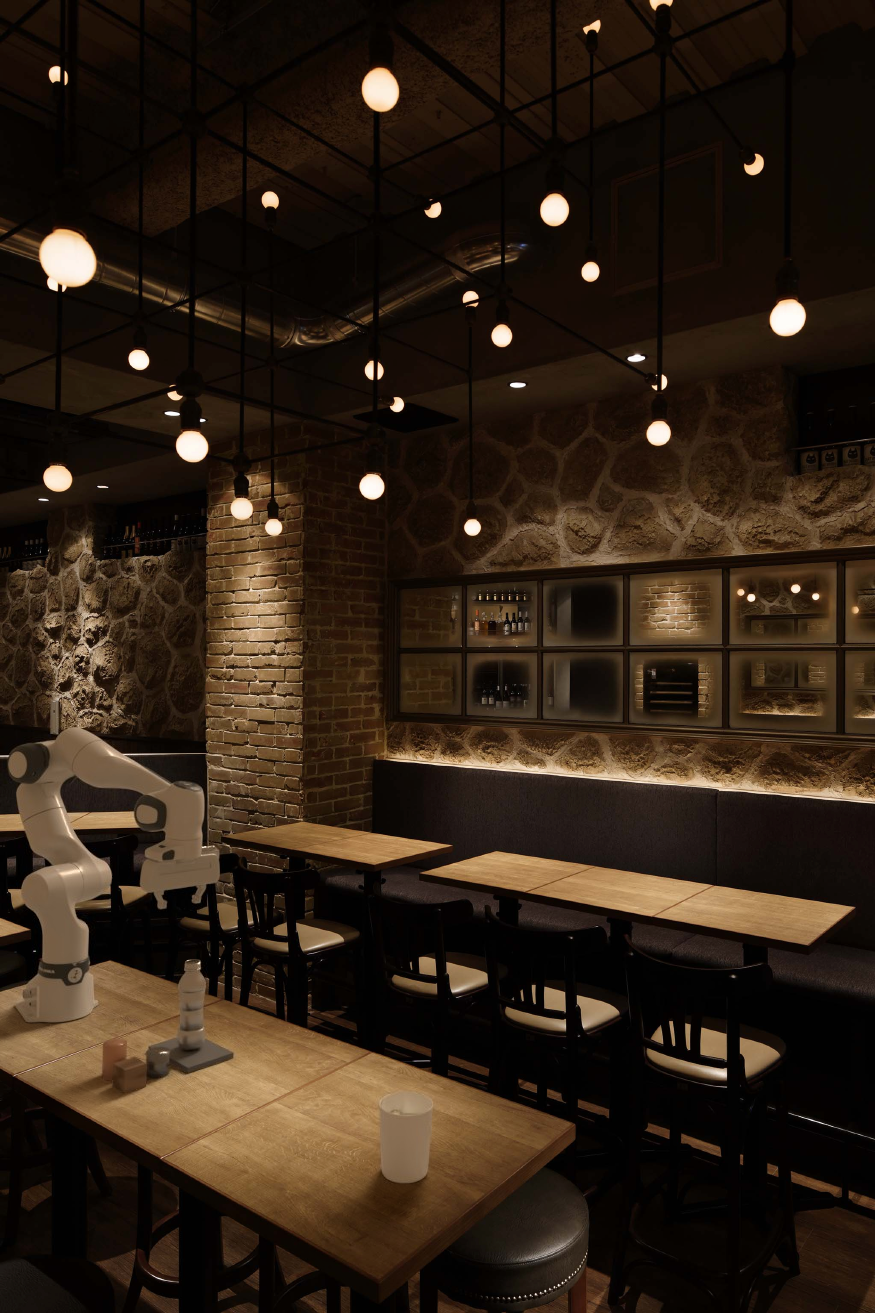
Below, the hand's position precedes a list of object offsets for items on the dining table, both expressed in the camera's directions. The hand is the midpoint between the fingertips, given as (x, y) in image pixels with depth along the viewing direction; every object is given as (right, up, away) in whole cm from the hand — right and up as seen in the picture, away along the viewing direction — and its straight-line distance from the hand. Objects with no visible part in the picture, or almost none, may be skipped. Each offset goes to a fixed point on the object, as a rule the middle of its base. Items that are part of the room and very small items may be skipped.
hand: (179, 905), depth 217 cm
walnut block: (-3, -32, -27) cm, 42 cm away
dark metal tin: (+1, -32, -20) cm, 38 cm away
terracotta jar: (-8, -31, -22) cm, 39 cm away
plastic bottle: (+5, -31, -9) cm, 33 cm away
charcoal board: (+5, -32, -10) cm, 34 cm away
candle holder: (+57, -32, -58) cm, 88 cm away
